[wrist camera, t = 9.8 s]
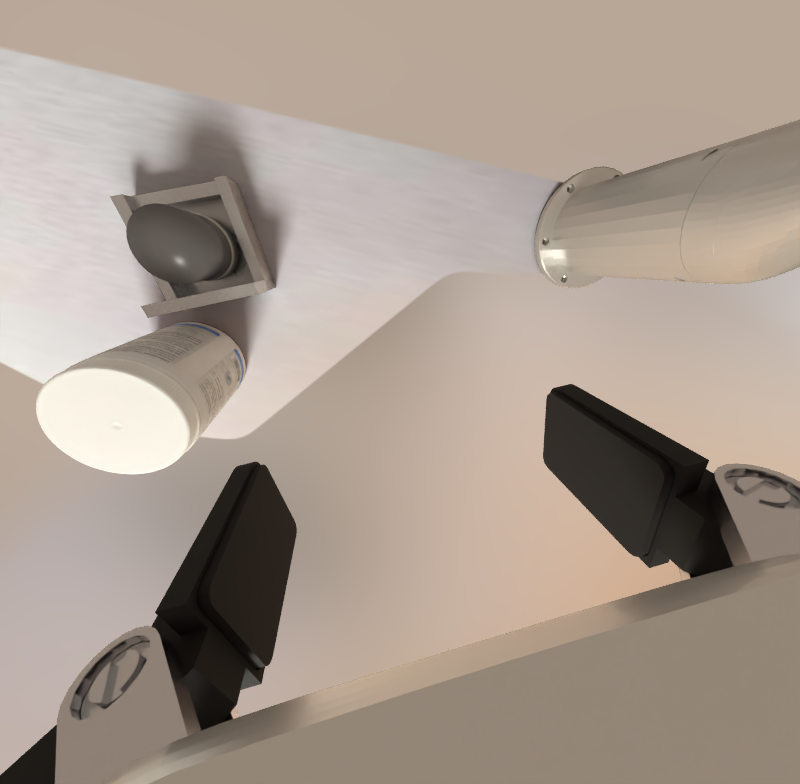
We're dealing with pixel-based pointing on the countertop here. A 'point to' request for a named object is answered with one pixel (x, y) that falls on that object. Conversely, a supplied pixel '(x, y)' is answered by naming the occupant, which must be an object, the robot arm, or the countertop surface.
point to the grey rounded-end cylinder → (180, 244)
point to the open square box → (231, 212)
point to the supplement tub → (142, 398)
